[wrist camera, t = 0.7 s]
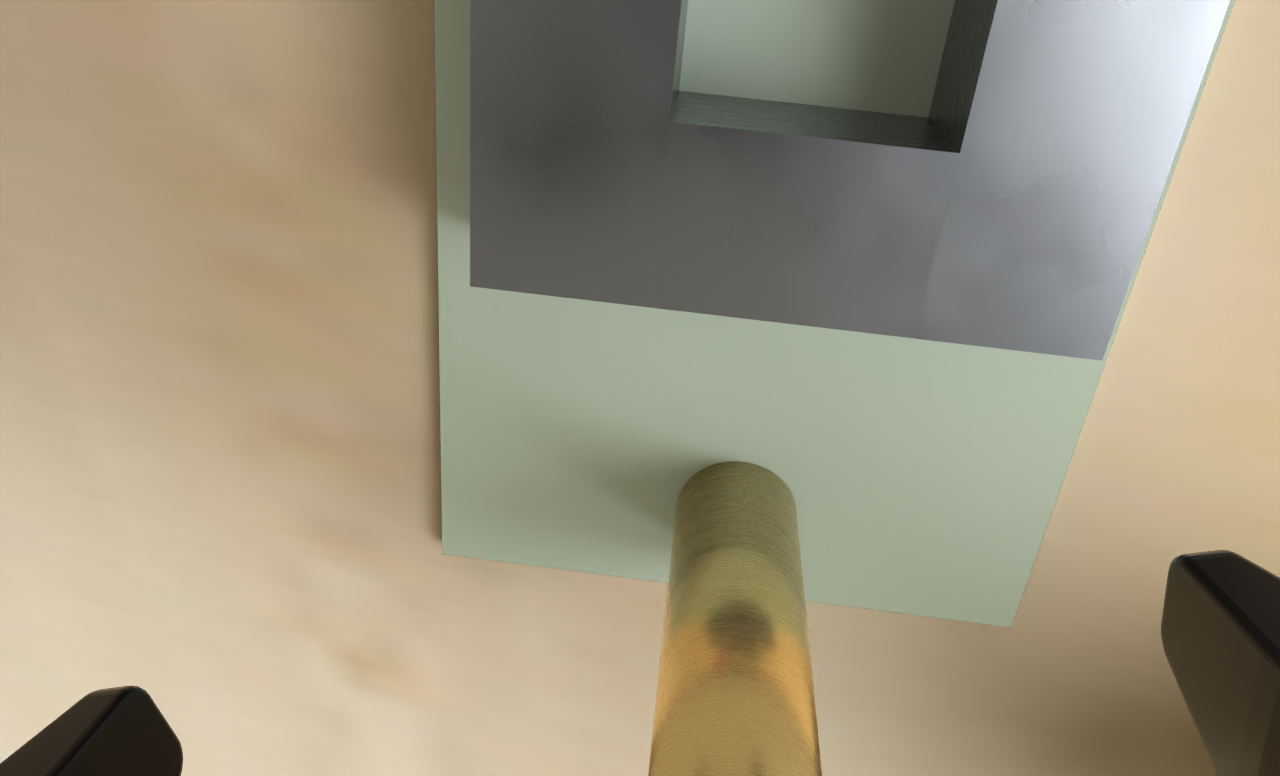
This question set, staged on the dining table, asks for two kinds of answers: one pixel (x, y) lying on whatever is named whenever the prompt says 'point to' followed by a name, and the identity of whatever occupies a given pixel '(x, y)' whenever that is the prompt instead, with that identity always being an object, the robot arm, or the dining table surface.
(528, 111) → the block
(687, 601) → the pin
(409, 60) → the dining table surface
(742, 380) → the mat
